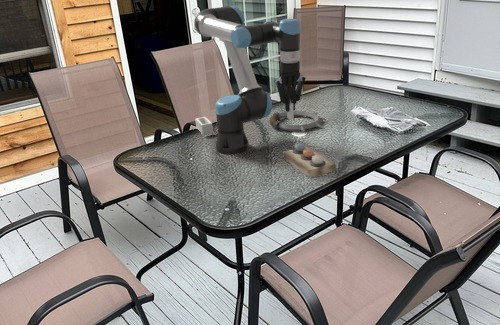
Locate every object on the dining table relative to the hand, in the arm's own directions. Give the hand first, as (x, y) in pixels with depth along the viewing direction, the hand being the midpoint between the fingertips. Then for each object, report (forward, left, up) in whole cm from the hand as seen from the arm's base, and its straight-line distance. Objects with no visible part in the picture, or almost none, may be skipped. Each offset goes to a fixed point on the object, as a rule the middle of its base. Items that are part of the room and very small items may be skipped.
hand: (290, 118), depth 184 cm
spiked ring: (+23, +38, -18) cm, 48 cm away
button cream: (+3, -17, -14) cm, 22 cm away
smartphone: (-23, +52, -18) cm, 60 cm away
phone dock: (-23, +52, -18) cm, 60 cm away
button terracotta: (+3, -10, -14) cm, 17 cm away
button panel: (+3, -10, -18) cm, 20 cm away
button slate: (+3, -2, -14) cm, 14 cm away
